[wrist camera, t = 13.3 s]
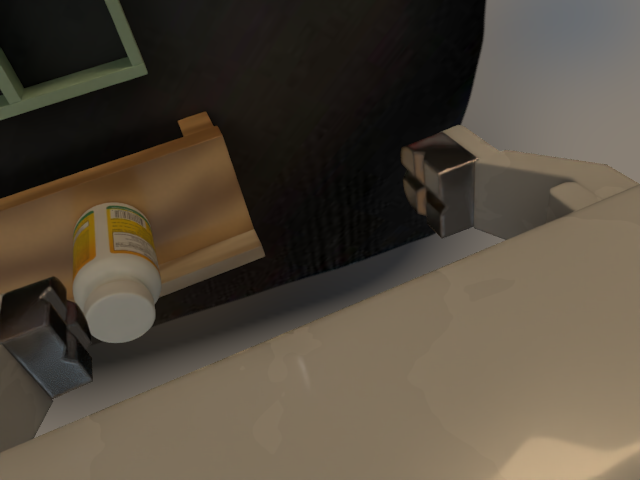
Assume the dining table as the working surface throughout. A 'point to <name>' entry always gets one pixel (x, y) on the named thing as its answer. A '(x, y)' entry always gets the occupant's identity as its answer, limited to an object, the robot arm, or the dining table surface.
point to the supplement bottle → (115, 272)
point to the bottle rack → (72, 75)
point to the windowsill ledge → (150, 199)
